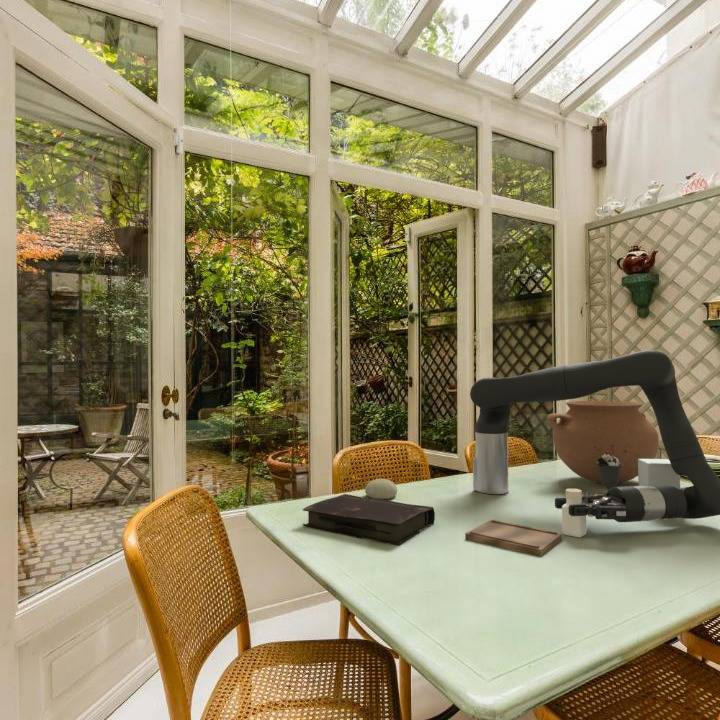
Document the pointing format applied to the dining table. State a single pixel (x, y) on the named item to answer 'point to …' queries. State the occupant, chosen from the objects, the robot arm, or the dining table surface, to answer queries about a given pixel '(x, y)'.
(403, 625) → the dining table surface
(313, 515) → the diary
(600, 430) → the clay pot
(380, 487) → the sea urchin shell
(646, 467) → the supplement box
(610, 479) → the sundae
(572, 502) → the salt shaker
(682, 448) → the robot arm
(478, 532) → the walnut board
